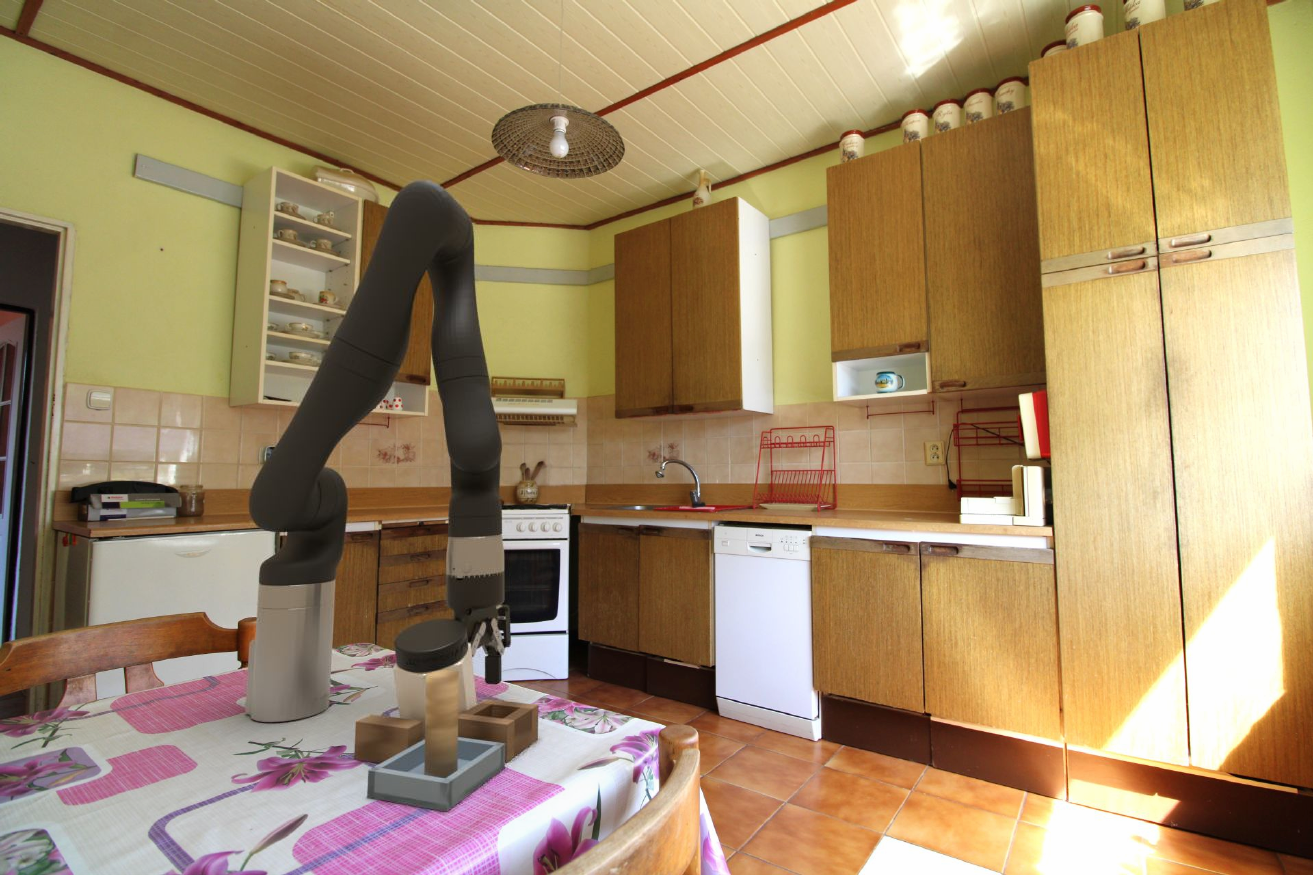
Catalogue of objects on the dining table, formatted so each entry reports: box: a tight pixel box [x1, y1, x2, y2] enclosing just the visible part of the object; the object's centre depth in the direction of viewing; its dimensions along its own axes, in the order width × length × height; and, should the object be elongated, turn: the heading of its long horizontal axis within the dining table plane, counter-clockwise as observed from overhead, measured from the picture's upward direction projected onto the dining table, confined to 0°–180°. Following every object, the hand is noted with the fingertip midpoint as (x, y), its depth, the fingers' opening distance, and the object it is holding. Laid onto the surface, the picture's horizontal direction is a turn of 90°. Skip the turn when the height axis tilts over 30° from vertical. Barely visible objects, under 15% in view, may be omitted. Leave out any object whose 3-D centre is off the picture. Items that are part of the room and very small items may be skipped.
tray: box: [366, 737, 506, 813], centre depth 64 cm, size 9×10×2 cm
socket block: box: [458, 698, 540, 764], centre depth 73 cm, size 7×7×4 cm
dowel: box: [424, 670, 459, 778], centre depth 65 cm, size 3×3×10 cm
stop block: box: [353, 714, 423, 764], centre depth 70 cm, size 7×2×4 cm, turn 72°
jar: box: [392, 618, 478, 740], centre depth 75 cm, size 9×8×12 cm
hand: (476, 693), depth 84 cm, fingers open, 8 cm apart
